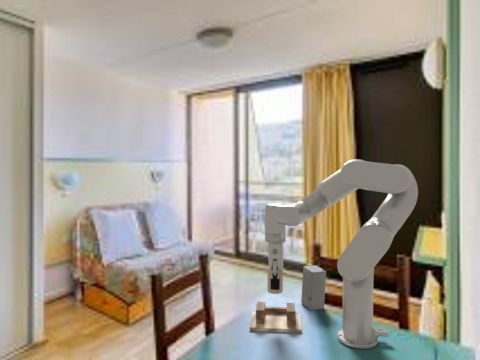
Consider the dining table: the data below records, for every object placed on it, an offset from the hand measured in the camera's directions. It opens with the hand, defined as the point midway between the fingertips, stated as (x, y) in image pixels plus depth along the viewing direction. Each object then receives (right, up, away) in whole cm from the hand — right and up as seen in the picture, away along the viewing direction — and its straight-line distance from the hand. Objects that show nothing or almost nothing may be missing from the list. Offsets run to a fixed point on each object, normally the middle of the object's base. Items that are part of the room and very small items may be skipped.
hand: (275, 285), depth 131 cm
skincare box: (+17, -13, +16) cm, 27 cm away
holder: (0, -14, +1) cm, 14 cm away
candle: (0, -2, 0) cm, 2 cm away
